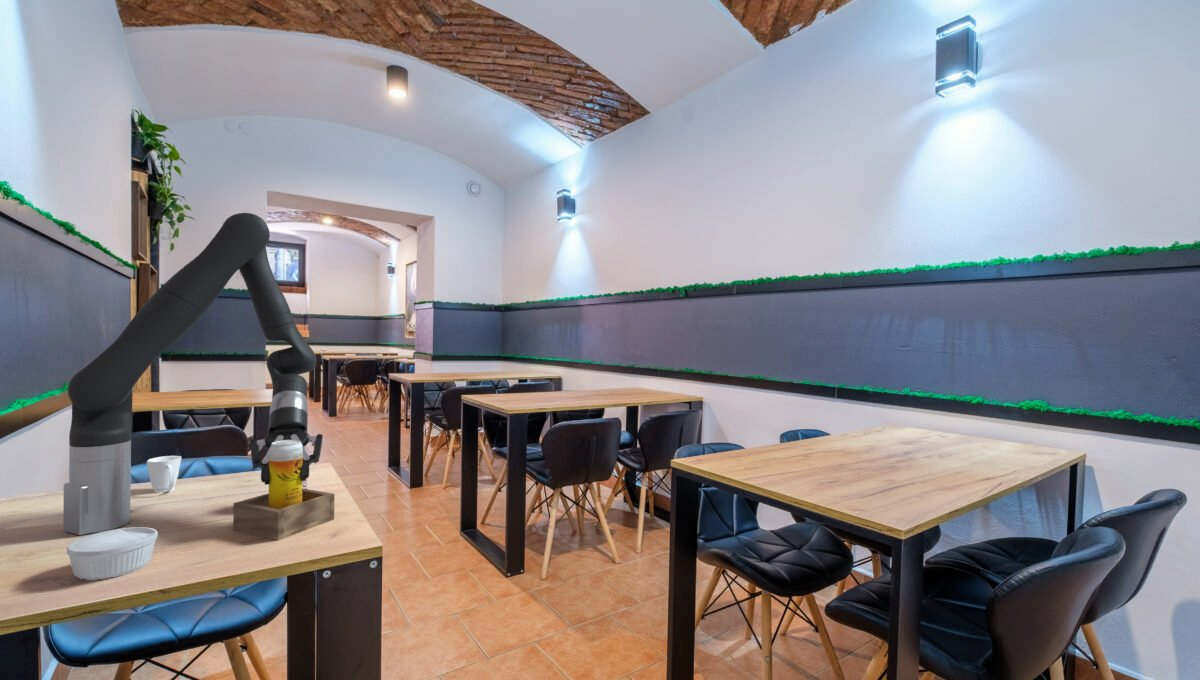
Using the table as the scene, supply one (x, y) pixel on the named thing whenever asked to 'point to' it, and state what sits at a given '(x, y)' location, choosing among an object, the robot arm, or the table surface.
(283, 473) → the beer can
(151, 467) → the cup
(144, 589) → the table surface
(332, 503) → the walnut crate
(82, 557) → the ramekin
